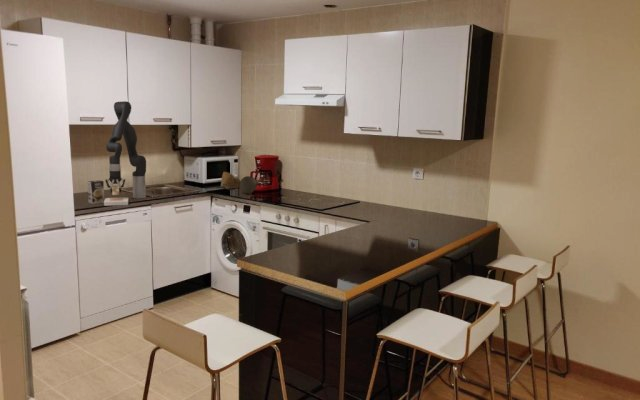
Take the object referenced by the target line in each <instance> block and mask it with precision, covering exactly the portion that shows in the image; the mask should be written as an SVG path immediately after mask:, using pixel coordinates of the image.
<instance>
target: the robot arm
mask: <svg viewBox="0 0 640 400" xmlns="http://www.w3.org/2000/svg"><path fill="white" fill-rule="evenodd" d="M113 110H114V113H115V117H117V120H118V121H116V123H115V124H114V126H113V128H112V131H111V132H112V133H111V136H110V138H109V140H108V141H107V143H106V144H105V145H106V146H105V147H106V148H105V149H106V151H107V152H109V153H114V154H113V155H109V168H108V170H109V178H107V179H105V183H106V187H107V188H109V189H110V192H109V193H111V194H112V186H114V185H115V184H116V185H117V186H119V194H121V193H122V188H124V186H125V182H126V179H125V178H122V177H121V175H122V173H121V155H122V152H123V146H122V144H121V143H120V142H119V141H122V138H123V141H124V142H125V146H126V150H127V154H128V159H129V160H128V161H129V163H130V166H132V167H134V168H135V170H134V171H132V175H131V177H132V197H133V198H134V199H145V198H147V194H146V193H147V191H146V190H147V189H146V172H147V160H146V157H145V156H144V155H139V154H138V152H137V151H138V150H137V148H136V147H137V142H138V136H137V133H136V130H135V127H133V126H132V125H131V123H130V122H129V121H128V119H129V117H130V114H131V112H132V104H131V103H130V102H129V101H116V102H114V104H113ZM109 182H110V183H111V184H109ZM121 182H122V185H121Z"/></svg>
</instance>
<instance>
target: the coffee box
mask: <svg viewBox="0 0 640 400" xmlns="http://www.w3.org/2000/svg"><path fill="white" fill-rule="evenodd" d="M104 187H105V186H104V181H103V180H99V179H98V180H89V181H87V195H88V196H87V198H88V199H87V200H88V201H87V202H88V203H89V204H91V205H95V204H96V203H97V204H104V200H105V191H104V190H105V189H104Z"/></svg>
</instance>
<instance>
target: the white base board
mask: <svg viewBox="0 0 640 400" xmlns="http://www.w3.org/2000/svg"><path fill="white" fill-rule="evenodd" d="M103 205H104V206H128V205H129V197H128V196H127V197H104V203H103Z"/></svg>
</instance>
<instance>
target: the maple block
mask: <svg viewBox="0 0 640 400" xmlns="http://www.w3.org/2000/svg"><path fill="white" fill-rule="evenodd" d="M111 194H112V196H118V195H119V196H120V193H119V186H118V185H113V186H112V193H111Z"/></svg>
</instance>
